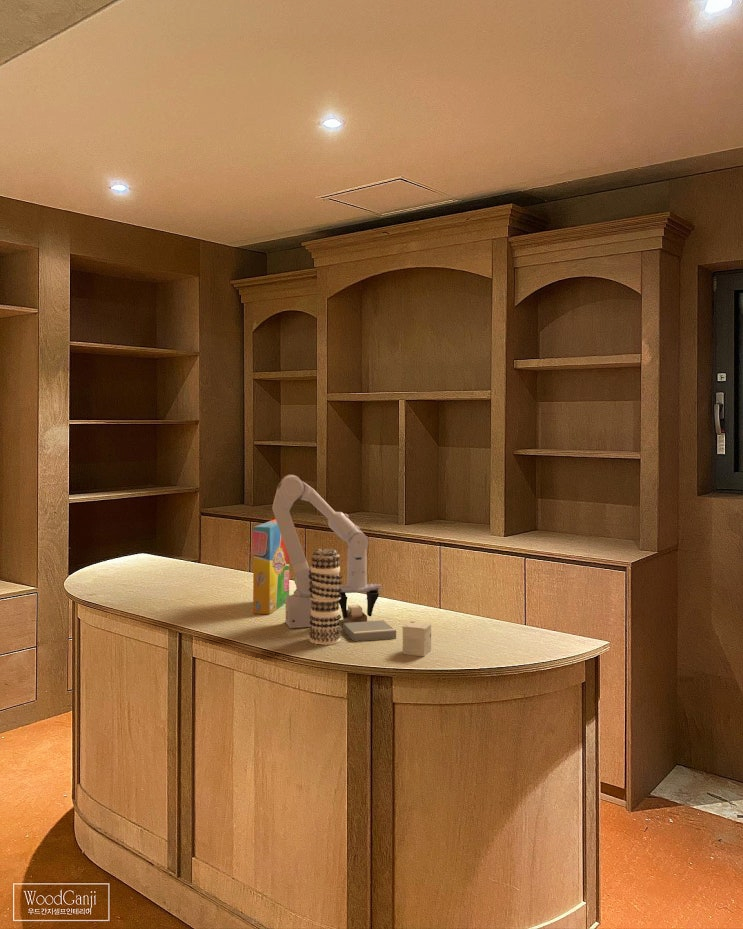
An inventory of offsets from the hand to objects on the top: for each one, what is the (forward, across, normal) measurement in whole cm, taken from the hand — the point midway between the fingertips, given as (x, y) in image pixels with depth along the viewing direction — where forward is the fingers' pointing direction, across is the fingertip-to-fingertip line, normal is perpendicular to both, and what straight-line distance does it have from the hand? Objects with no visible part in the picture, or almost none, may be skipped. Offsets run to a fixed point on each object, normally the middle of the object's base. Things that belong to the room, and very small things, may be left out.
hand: (357, 616), depth 239 cm
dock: (+2, 0, -13) cm, 13 cm away
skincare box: (+2, +7, -33) cm, 34 cm away
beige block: (0, 0, 0) cm, 1 cm away
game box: (+2, -21, +26) cm, 34 cm away
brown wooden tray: (+2, -1, 0) cm, 2 cm away
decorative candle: (+2, -14, -16) cm, 21 cm away
